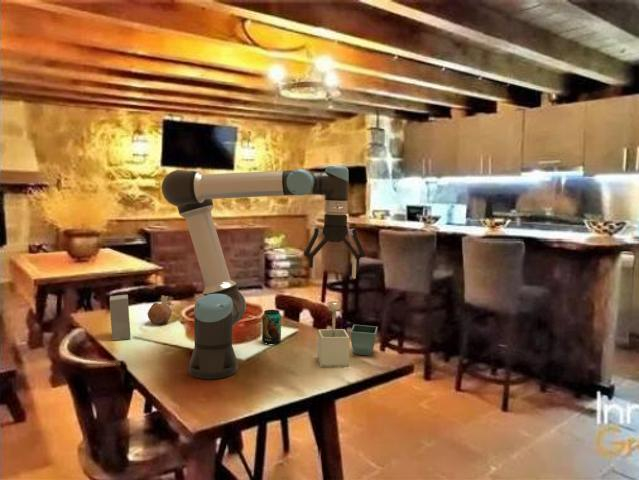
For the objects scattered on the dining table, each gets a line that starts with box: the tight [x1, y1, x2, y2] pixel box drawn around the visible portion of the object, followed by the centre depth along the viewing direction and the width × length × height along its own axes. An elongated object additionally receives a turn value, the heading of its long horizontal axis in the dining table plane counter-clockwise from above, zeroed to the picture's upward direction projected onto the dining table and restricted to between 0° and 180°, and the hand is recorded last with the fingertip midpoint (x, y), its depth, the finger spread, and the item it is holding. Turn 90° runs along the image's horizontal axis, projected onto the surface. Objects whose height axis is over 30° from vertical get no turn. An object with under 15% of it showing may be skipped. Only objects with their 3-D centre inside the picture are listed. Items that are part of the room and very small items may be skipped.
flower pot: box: [350, 324, 379, 356], centre depth 171 cm, size 9×9×9 cm
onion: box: [147, 302, 172, 326], centre depth 201 cm, size 10×9×10 cm
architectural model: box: [161, 295, 176, 307], centre depth 222 cm, size 3×7×7 cm, turn 42°
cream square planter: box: [316, 328, 351, 368], centre depth 161 cm, size 9×9×10 cm
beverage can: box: [261, 309, 282, 345], centre depth 180 cm, size 7×7×12 cm
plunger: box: [327, 300, 341, 337], centre depth 160 cm, size 7×7×18 cm
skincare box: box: [109, 294, 131, 341], centre depth 181 cm, size 8×7×16 cm
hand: (333, 277), depth 159 cm, fingers open, 13 cm apart
